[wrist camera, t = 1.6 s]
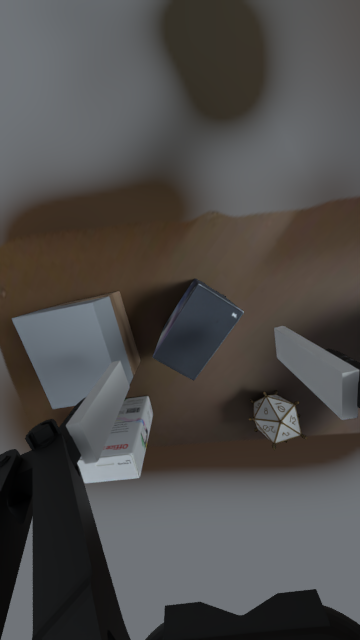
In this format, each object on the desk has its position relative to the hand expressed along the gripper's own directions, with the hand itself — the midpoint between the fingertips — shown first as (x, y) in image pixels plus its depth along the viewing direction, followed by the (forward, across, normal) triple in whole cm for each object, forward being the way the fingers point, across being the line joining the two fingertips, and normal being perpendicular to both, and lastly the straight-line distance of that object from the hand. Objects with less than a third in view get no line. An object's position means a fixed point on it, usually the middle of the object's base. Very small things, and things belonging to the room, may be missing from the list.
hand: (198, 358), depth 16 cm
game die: (+16, -10, +20) cm, 28 cm away
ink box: (+16, +16, +16) cm, 28 cm away
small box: (+16, 0, 0) cm, 16 cm away
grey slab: (+12, +16, 0) cm, 19 cm away
